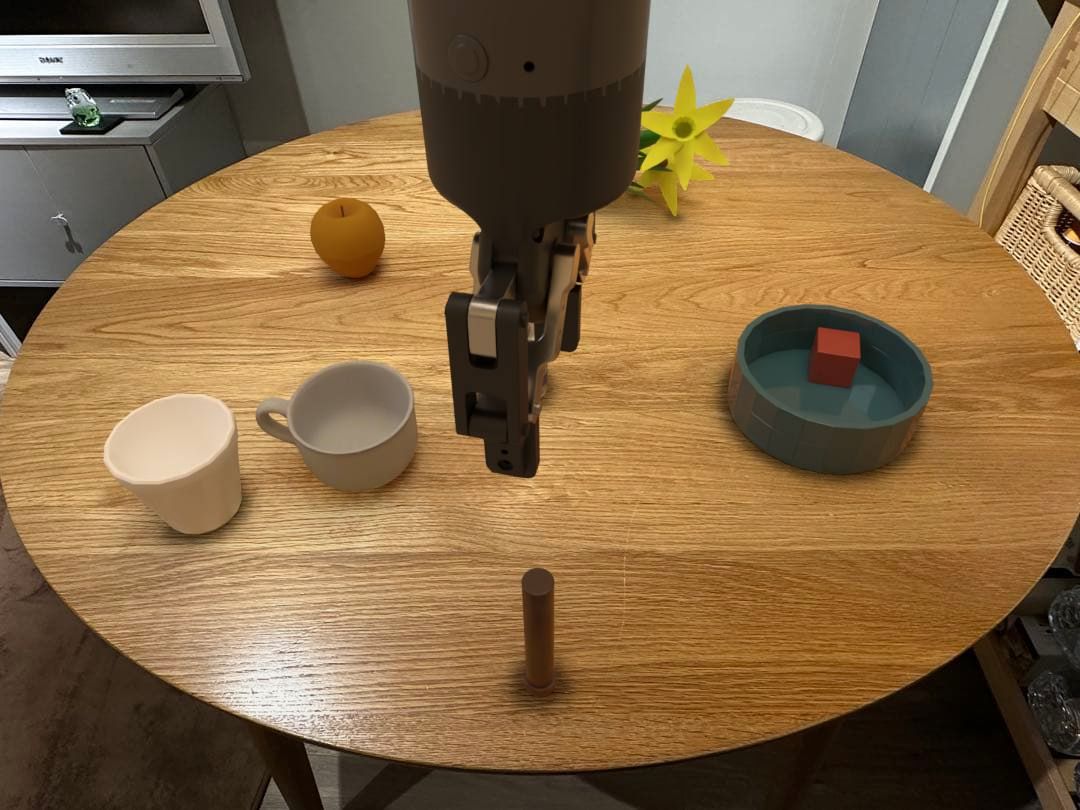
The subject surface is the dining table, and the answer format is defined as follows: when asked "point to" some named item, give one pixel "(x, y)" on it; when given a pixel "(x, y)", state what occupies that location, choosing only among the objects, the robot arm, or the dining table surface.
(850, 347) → the block
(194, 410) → the cup
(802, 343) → the bowl
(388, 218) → the dining table surface
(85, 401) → the dining table surface
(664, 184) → the daffodil flowers
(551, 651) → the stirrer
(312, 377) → the teacup
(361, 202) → the apple
